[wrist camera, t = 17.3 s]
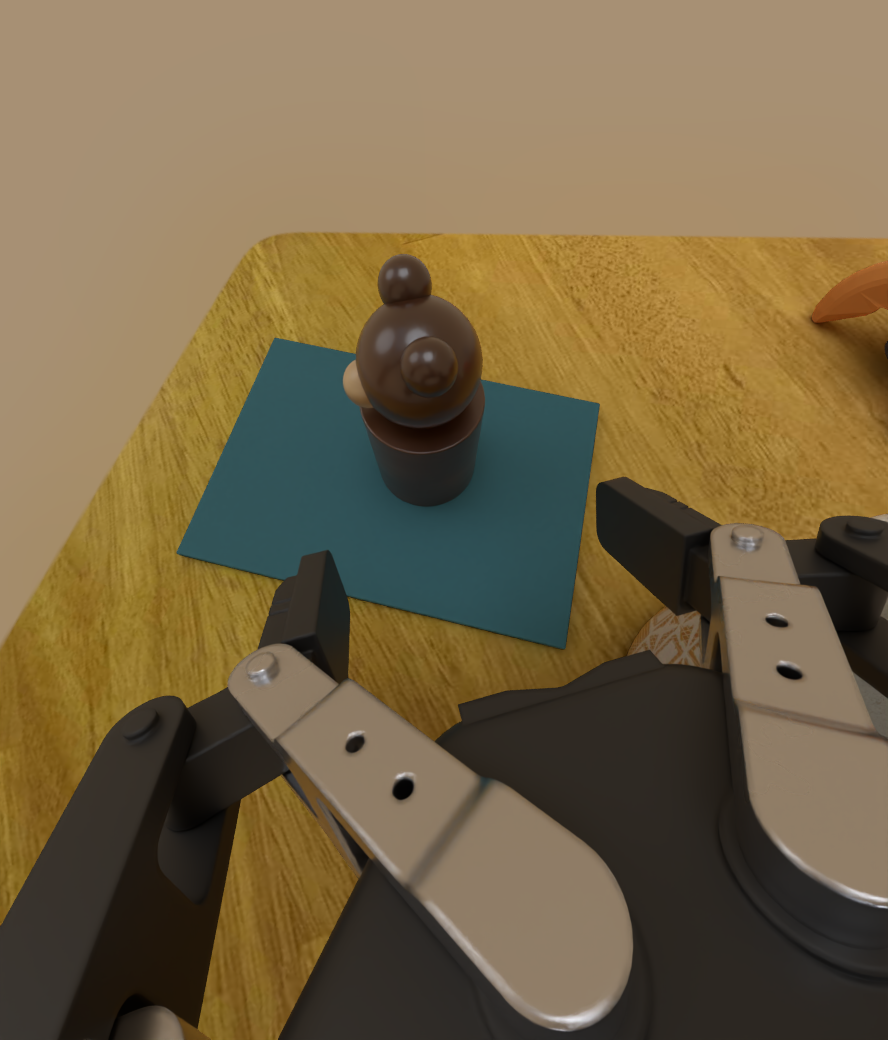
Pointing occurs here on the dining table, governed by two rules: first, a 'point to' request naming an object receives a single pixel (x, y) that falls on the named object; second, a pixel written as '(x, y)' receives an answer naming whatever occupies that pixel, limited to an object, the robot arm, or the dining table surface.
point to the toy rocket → (856, 296)
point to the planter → (680, 645)
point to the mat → (403, 502)
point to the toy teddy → (418, 387)
